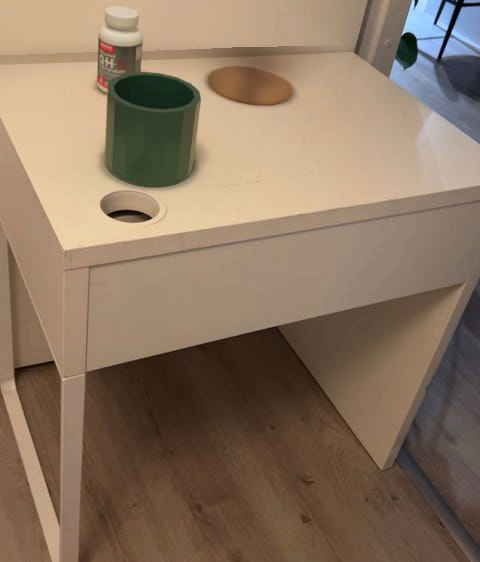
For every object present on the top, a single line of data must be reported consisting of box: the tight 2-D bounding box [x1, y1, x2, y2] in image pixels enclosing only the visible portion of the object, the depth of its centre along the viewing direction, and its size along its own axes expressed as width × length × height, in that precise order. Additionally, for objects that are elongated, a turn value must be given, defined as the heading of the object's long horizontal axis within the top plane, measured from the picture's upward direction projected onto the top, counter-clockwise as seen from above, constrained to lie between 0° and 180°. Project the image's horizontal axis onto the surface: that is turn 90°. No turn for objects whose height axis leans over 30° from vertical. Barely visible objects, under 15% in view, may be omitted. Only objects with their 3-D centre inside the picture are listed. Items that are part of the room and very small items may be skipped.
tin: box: [104, 71, 202, 188], centre depth 77 cm, size 9×9×8 cm
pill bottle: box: [96, 5, 144, 94], centre depth 91 cm, size 5×5×10 cm
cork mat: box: [207, 65, 293, 106], centre depth 100 cm, size 12×12×1 cm
